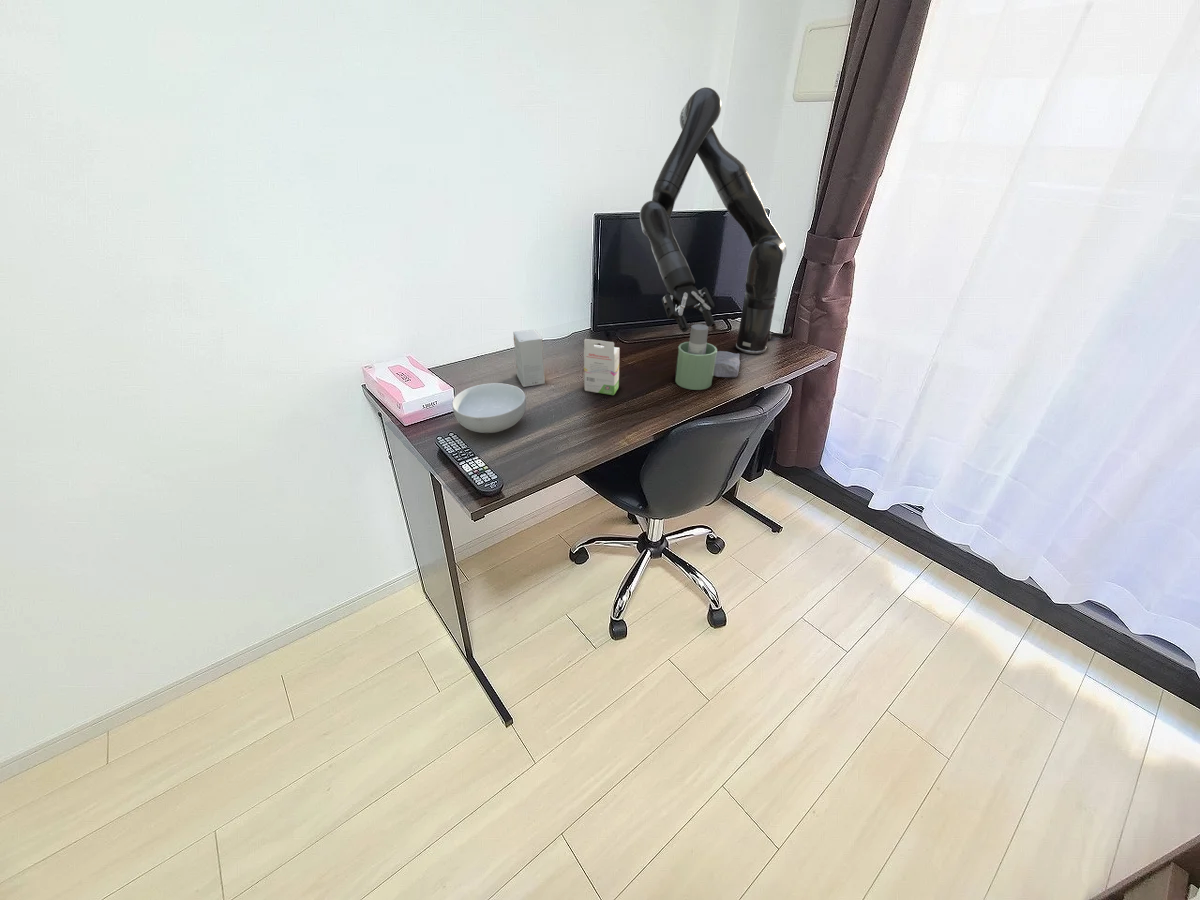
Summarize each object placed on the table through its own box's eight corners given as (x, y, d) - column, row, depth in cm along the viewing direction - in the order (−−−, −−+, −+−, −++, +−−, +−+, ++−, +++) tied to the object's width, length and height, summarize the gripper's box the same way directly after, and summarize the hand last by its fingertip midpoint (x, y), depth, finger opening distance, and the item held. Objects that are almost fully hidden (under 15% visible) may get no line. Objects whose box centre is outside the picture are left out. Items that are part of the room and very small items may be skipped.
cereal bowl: (482, 402, 128) (479, 377, 124) (540, 415, 123) (538, 389, 119) (441, 434, 115) (436, 407, 111) (503, 450, 109) (500, 422, 106)
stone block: (704, 381, 144) (740, 378, 141) (703, 365, 141) (740, 362, 139) (706, 366, 153) (739, 363, 151) (705, 351, 151) (739, 347, 148)
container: (693, 374, 142) (700, 322, 133) (705, 380, 138) (712, 328, 130) (681, 377, 140) (687, 325, 131) (692, 384, 136) (699, 331, 128)
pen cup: (689, 371, 145) (693, 338, 140) (719, 382, 139) (724, 348, 134) (667, 381, 139) (670, 347, 134) (697, 393, 133) (702, 358, 128)
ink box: (619, 388, 136) (621, 336, 127) (613, 396, 132) (615, 342, 123) (589, 383, 138) (589, 331, 130) (583, 390, 134) (582, 338, 126)
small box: (545, 384, 137) (542, 339, 130) (522, 387, 135) (518, 341, 128) (538, 372, 143) (535, 328, 136) (516, 375, 142) (512, 331, 134)
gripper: (689, 278, 140) (711, 329, 138) (647, 284, 134) (670, 339, 132) (704, 262, 133) (727, 316, 131) (660, 268, 127) (684, 325, 125)
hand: (698, 327), depth 131 cm, fingers open, 8 cm apart
